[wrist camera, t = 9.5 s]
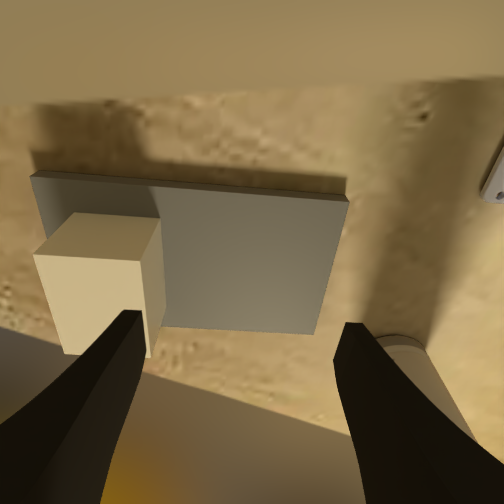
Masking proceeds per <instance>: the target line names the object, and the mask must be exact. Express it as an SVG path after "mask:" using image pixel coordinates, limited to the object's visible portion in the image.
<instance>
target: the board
mask: <svg viewBox="0 0 504 504" xmlns="http://www.w3.org/2000/svg"><path fill="white" fill-rule="evenodd" d="M30 180H31V183H32V187H33V191H34V194H35V198H36V201H37V205H38V208H39V212H40V216H41V219H42V223H43V226H44V230H45V233H46V237H47V239H48V238H49V237H50V236H51V235H52V234H53V233H54V232H55V231H56V230H57V229H58V228H59V227H60V226H61V225H62V224H63V223H64V222H65V221H66V220H67V219H68V218H69V217H70V216H71V215H72V214H73V213H74V212H77V213H91V214H105V215H119V216H133V217H147V218H160V220H161V235H162V249H163V264H164V278H165V293H166V310H165V313H164V316H163V320H162V323H161V326H162V327H180V328H198V329H216V330H234V331H252V332H270V333H288V334H306V335H314V332H315V328H316V324H317V320H318V317H319V313H320V309H321V306H322V302H323V298H324V295H325V291H326V287H327V284H328V280H329V276H330V273H331V269H332V265H333V262H334V258H335V254H336V250H337V247H338V243H339V239H340V236H341V232H342V228H343V225H344V221H345V217H346V214H347V210H348V206H349V203H350V202H349V200H348V199H347V197H346V196H345V195H336V194H323V193H311V192H299V191H287V190H274V189H262V188H250V187H238V186H226V185H213V184H201V183H189V182H177V181H164V180H152V179H140V178H128V177H115V176H103V175H91V174H79V173H66V172H54V171H42V170H39V171H37V172H36V173H34V174H32V175H31V176H30Z"/></svg>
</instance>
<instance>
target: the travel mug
mask: <svg viewBox="0 0 504 504" xmlns="http://www.w3.org/2000/svg"><path fill="white" fill-rule="evenodd" d="M376 340H377V341H378V343H379V344H380V345H381V346H382V347H383V349H384V350H385V351H386V352H387V353H388V355H389V356H390V357H391V358H392V359H393V361H394V362H395V363H396V364H397V365H398V366H399V367H400V369H401V370H402V371H403V372H404V373H405V374H406V375H407V376H408V378H409V379H410V380H411V381H412V382H413V383H414V384H415V385H416V386H417V387H418V388H419V389H420V390H421V391H422V392H423V393H424V394H425V396H426V397H427V398H428V399H429V400H430V401H431V402H432V403H433V404H434V405H435V406H436V407H437V408H438V409H440V410H441V411H442V412H443V413H444V414H445V415H446V416H447V417H448V418H449V419H450V420H451V421H453V422H454V423H455V424H456V425H457V426H458V427H459V428H460V429H461V430H462V431H464V432H465V433H466V434H467V435H468V436H469V437H471V438H472V439H473V440H474V441H475V442H477V441H476V439H475V437H474V435H473V434H472V432H471V430H470V428H469V427H468V425H467V423H466V421H465V420H464V418H463V416H462V414H461V413H460V411H459V409H458V407H457V406H456V404H455V402H454V400H453V398H452V397H451V395H450V393H449V391H448V390H447V388H446V386H445V384H444V383H443V381H442V379H441V377H440V376H439V374H438V372H437V370H436V369H435V367H434V365H433V364H432V362H431V360H430V358H429V356H428V355H427V353H426V351H425V349H424V348H423V346H422V345H421V344H420V343H419V342H418V341H416V340H414V339H412V338H409V337H406V336H399V335H394V336H385V337H381V338H377V339H376ZM477 443H478V442H477Z"/></svg>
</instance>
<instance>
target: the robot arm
mask: <svg viewBox="0 0 504 504" xmlns="http://www.w3.org/2000/svg"><path fill="white" fill-rule="evenodd" d="M499 192H501V194H500V195H499V196H497V197H496V195H497V194H498V193H499ZM480 197H481V199H482V200H484V201H485V202H488V203H500V204H504V147H503V149H502V151H501V153H500V155H499V157H498V159H497V161H496V163H495V165H494V167H493V169H492V171H491V173H490V175H489V177H488V179H487V181H486V183H485V185H484V187H483V189H482V191H481V194H480ZM146 351H147V349H146V341H145V332H144V323H143V315H142V310H127V309H124V310H123V311H121V312H120V313H119V315H118V316H117V317H116V318H115V319H114V320H113V321H112V323H111V324H110V325H109V326H108V327H107V328H106V329H105V330H104V331H103V333H102V334H101V335H100V336H99V337H98V338H97V339H96V340H95V341H94V342H93V343H92V344H91V345H90V346H89V347H88V348H87V349H86V350H85V351H84V353H83V354H82V355H81V356H80V357H79V358H78V359H77V360H76V361H75V362H74V363H72V364H71V365H70V366H69V367H68V368H67V369H66V370H65V371H64V372H63V373H62V374H61V375H60V376H59V377H58V378H57V379H55V380H54V382H52V383H51V384H50V385H49V386H48V387H47V388H45V389H44V390H43V391H42V392H41V393H39V394H38V395H37V396H36V397H35V398H33V400H31V401H30V402H29V403H27V404H26V405H25V406H24V407H23V408H21V409H20V410H19V411H17V412H16V413H15V414H14V415H12V416H11V417H10V418H8V419H7V420H6V421H4V422H3V423H2V424H0V504H100V501H101V497H102V493H103V489H104V485H105V482H106V478H107V474H108V470H109V467H110V463H111V459H112V456H113V453H114V450H115V447H116V444H117V441H118V438H119V435H120V433H121V430H122V427H123V424H124V422H125V419H126V416H127V414H128V411H129V408H130V405H131V403H132V400H133V397H134V394H135V391H136V388H137V385H138V383H139V380H140V377H141V373H142V369H143V365H144V360H145V356H146ZM333 363H334V370H335V377H336V383H337V388H338V392H339V396H340V399H341V403H342V406H343V410H344V413H345V417H346V420H347V424H348V427H349V431H350V434H351V437H352V441H353V444H354V448H355V451H356V455H357V459H358V463H359V468H360V473H361V478H362V483H363V489H364V494H365V499H366V504H504V464H503V463H501V462H500V461H499V460H497V459H496V458H495V457H494V456H492V455H491V454H490V453H489V452H488V451H486V450H485V449H484V448H483V447H481V446H480V445H479V444H478V443H477V442H475V441H474V440H473V439H472V438H471V437H469V436H468V435H467V434H466V433H465V432H464V431H462V430H461V429H460V428H459V427H458V426H457V425H456V424H455V423H454V422H453V421H451V420H450V419H449V418H448V417H447V416H446V415H445V414H444V413H443V412H442V411H441V410H440V409H438V408H437V407H436V406H435V405H434V404H433V403H432V402H431V401H430V400H429V399H428V398H427V397H426V396H425V394H424V393H423V392H422V391H421V390H420V389H419V388H418V387H417V386H416V385H415V384H414V383H413V382H412V381H411V380H410V379H409V378H408V376H407V375H406V374H405V373H404V372H403V371H402V370H401V369H400V367H399V366H398V365H397V364H396V363H395V362H394V361H393V359H392V358H391V357H390V356H389V355H388V353H387V352H386V351H385V350H384V349H383V347H382V346H381V345H380V344H379V343H378V341H377V340H376V339H375V338H374V337H373V335H372V334H371V333H370V332H369V330H368V329H367V328H366V327H365V326H364V324H363V323H351V322H346V323H345V326H344V329H343V332H342V335H341V338H340V341H339V344H338V347H337V350H336V353H335V356H334V359H333Z"/></svg>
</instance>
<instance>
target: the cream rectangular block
mask: <svg viewBox="0 0 504 504" xmlns="http://www.w3.org/2000/svg"><path fill="white" fill-rule="evenodd" d="M33 257H34V260H35V263H36V266H37V269H38V273H39V276H40V279H41V282H42V285H43V288H44V291H45V294H46V298H47V301H48V304H49V307H50V310H51V313H52V316H53V319H54V322H55V326H56V329H57V332H58V335H59V338H60V341H61V344H62V347H63V350H64V353H65V354H76V355H82V354H83V353H84V351H85V350H86V349H87V348H88V347H89V346H90V345H91V344H92V343H93V342H94V341H95V340H96V339H97V338H98V337H99V336H100V335H101V334H102V333H103V331H104V330H105V329H106V328H107V327H108V326H109V325H110V324H111V323H112V321H113V320H114V319H115V318H116V317H117V316H118V315H119V313H120V312H121V311H123V310H124V309H127V310H142V315H143V323H144V332H145V341H146V349H147V351H146V356H145V358H151V357H152V353H153V350H154V347H155V343H156V340H157V337H158V333H159V330H160V326H161V323H162V320H163V316H164V313H165V310H166V293H165V278H164V264H163V249H162V235H161V220H160V218H147V217H133V216H119V215H105V214H91V213H77V212H74V213H73V214H72V215H71V216H70V217H69V218H68V219H67V220H66V221H65V222H64V223H63V224H62V225H61V226H60V227H59V228H58V229H57V230H56V231H55V232H54V233H53V234H52V235H51V236H50V237H49V238H48V239H47V240H46V241H45V242H44V243H43V244H42V245H41V246H40V247H39V248H38V249H37V250H36V251H35V252H34V253H33Z"/></svg>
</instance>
